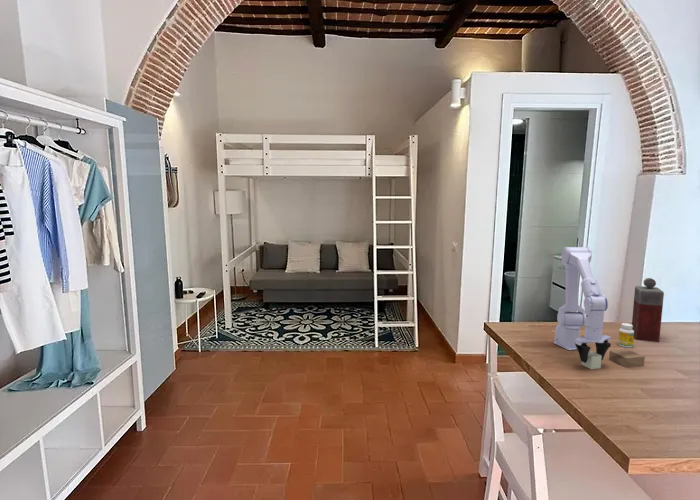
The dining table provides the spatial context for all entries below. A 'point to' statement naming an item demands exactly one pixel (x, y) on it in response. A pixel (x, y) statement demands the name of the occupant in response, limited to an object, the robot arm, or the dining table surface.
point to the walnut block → (626, 358)
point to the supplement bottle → (626, 335)
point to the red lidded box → (647, 311)
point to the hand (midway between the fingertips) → (591, 360)
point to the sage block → (593, 361)
